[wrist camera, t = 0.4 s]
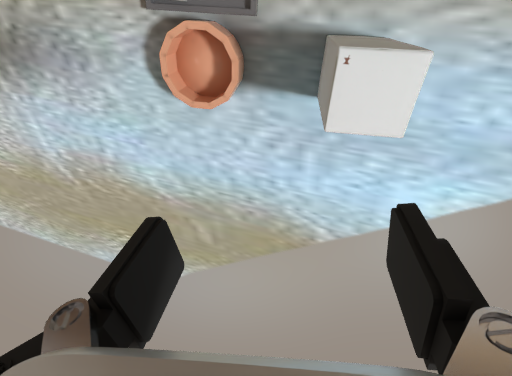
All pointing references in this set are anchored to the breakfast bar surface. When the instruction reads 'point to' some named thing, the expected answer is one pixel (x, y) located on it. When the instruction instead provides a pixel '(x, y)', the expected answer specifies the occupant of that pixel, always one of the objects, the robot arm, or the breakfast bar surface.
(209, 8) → the tray
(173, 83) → the bowl
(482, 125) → the breakfast bar surface
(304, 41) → the breakfast bar surface
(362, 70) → the supplement box
